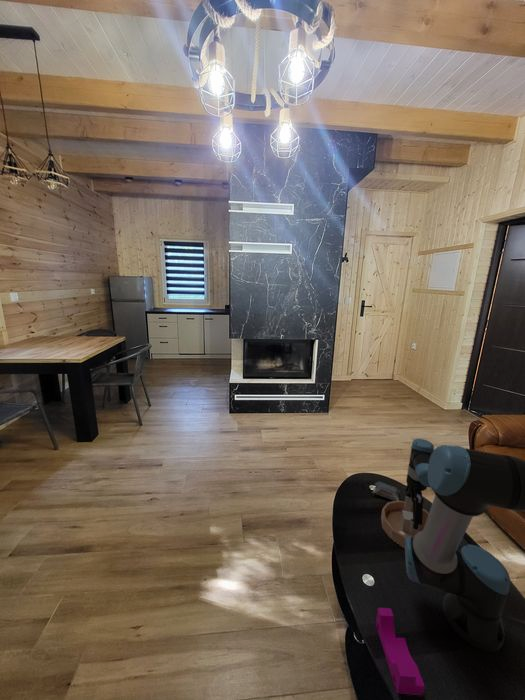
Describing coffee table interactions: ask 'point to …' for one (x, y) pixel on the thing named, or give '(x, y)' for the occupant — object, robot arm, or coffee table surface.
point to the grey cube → (406, 520)
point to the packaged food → (386, 491)
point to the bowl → (397, 521)
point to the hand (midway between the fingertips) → (410, 521)
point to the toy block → (398, 655)
